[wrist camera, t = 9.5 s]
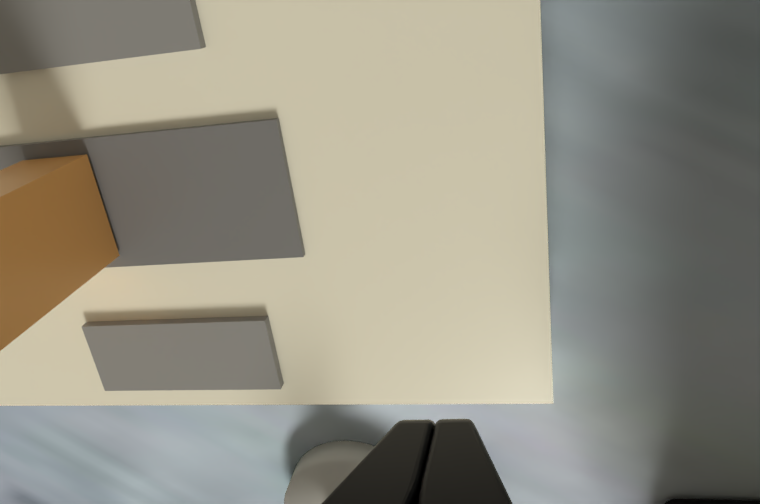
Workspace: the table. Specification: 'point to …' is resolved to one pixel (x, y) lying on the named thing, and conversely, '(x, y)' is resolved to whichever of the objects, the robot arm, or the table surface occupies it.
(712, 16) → the table surface
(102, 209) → the switch
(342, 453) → the cable post
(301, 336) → the breaker board
